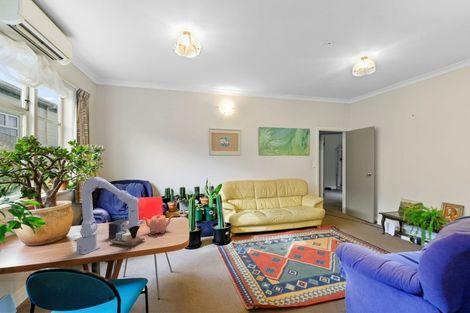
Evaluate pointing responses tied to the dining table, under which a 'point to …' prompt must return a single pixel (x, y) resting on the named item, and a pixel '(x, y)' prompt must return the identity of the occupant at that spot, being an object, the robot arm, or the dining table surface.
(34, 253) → the dining table surface
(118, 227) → the small box
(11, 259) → the dining table surface
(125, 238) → the button cream
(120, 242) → the brown tray
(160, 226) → the teapot
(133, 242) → the button terracotta
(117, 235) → the button slate
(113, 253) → the dining table surface
